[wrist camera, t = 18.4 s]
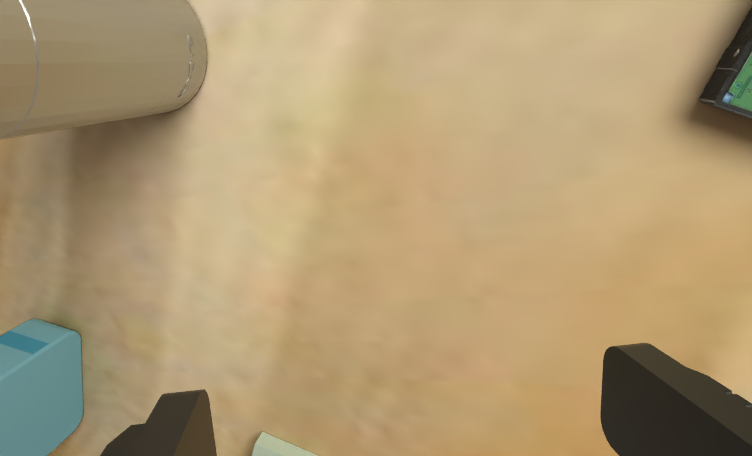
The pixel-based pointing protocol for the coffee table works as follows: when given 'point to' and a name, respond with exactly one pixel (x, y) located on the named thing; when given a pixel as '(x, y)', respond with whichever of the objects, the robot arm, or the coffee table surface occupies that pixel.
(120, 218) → the coffee table surface
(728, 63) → the disk drive
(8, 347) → the data package
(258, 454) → the pin board
